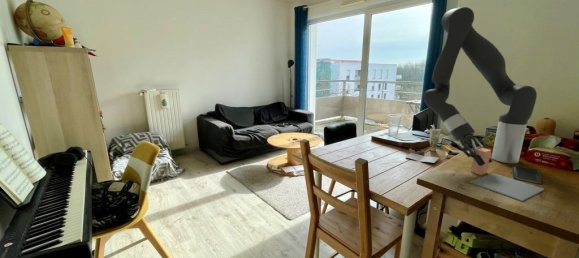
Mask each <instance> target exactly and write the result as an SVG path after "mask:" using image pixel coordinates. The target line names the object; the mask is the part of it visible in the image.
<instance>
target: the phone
mask: <svg viewBox="0 0 579 258" xmlns="http://www.w3.org/2000/svg"><path fill="white" fill-rule="evenodd" d="M511 168H512V179H514V180H517V181H520V182H525V183H526V182H527V183H529V184H530V183H531V184H536V185H542V183H543V180H542V176H541V174H540V170H538V169H536V168H530V167H524V166H519V165H512V167H511Z"/></svg>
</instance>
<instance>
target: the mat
mask: <svg viewBox="0 0 579 258" xmlns="http://www.w3.org/2000/svg"><path fill="white" fill-rule="evenodd" d="M469 183H470V184H472V185H476V186H479V187H480V188H484V189H487V190H489V191H492V192H495V193H498V194H501V195H503V196H505V197H508V198H510V199H514V200H517V201H519V202H524V201H526V200H528V199H530V198H533V197H534V196H536V195H538V194H540V193H541V192H543V191H545V190H546V189H545V188H543V187H539V186H536V185H533V184H530V183H528V182H527V183H526V182H525V181H521V180H516V179H514V178H510V177H507V176H504V175H500V174H497V173H495V172H492V173H490V174H487V175H484V176H482V177H479V178H477V179H473V180H470V181H469Z"/></svg>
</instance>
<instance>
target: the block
mask: <svg viewBox="0 0 579 258" xmlns="http://www.w3.org/2000/svg"><path fill="white" fill-rule="evenodd" d="M477 148H478V147H477ZM476 151H477V152H478V154H479V155H480V157H481V158H482V159H483V160H484V162H485V164H484V165H482V166H479V165H478V163H477V162H476V161H475V159H474V158H473V159H472V165H471V169H470V170H471V171H470V172H471V173H472V174H476V175H479V176H482V175H485V174H487V173H488V169H489V164H490V163H489V159H490V158H491V156H492V154H491V153H492V149H485V148H484V147H483V148H478V149H477V150H476Z"/></svg>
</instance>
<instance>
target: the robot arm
mask: <svg viewBox="0 0 579 258" xmlns="http://www.w3.org/2000/svg"><path fill="white" fill-rule="evenodd" d="M474 21H475V12H474V11H473V9H471V8H470V7H468V6H462V7H460V6H459V7H455V8H451V9H449V10H448V11H446V12H445V13H444V15H443V16H442V18H441V25H442V28H443V30H444V31H445V32H446V33H447V36H446V40H445V43H444V46H443V48H442V50H441V52H440V54H439V56H438V58H437V60H436V62H435V65H434V69H433V72H432V77H431V83H434V88H431V89H427V90H426V91H424V93H423V98H422V99H423V101H424V103H425V105H426V106H427V107H428V108H429V109H430V110H431V111H433V113H435V114H436V115H438V116H439V118H440V120H441V121H442V123H443V124H444V126H445V128H446V129H447V130H448V132H449V133H450V134H451V136H452V137H453V139H454V140H455V141H456V142H460V143H459V144H457V147H458V148H459V150H461V151H462V152H463V154H464V155H466V157H468V158H471V159H472V158H474V159H475V161H476V162H477V163H478V165H479V166H482V165H484V164H485V162H484V160H483V159H482V158H481V157H480V155H479V154H478V152H477V151H476V150H477V149H478V148H485V149H488V147H487V144H486V143H485V141H484V139H483V138H482V137H479V138H477V137H476V136H475V135H474V134H475V133H476V130H475V129H474V128H473V127H472V126H471V124H470V122H468V120H467V119H466V118H465V117H464V116H463V115H462V114H461V113H460V111H459V110H458V109H457V108H456V106H455V105H453V104H452V103H447V100H448V99H449V96H450V90H451V89H450V88H451V84H450V82H451V81H450V80H451V78H452V75H453V71H454V67H455V65H456V62H457V59H458V56H459V54H460V51H461V49H462V51H463V52H464V54H465V56H467V58H469V60H470V61H471V63H472V65H473V66H474V67H475V68H476V69H477V70H478V72H479V73H480V74H481V76H483V78H484V80H485V81H487V83H488V84H489V85H490V87H491V89H492V90H493V91H494V93H495V95H496V96H497V98H498V100H499V101H500V102H501V104H503V105H505V106H509V109H508V111H507V112H506V113H504V114H501V115H499V118H498V124H497V129H496V134H495V139H494V144H493V149H492V152H491V153H492V154H491V157H490V159H489V164H490V163H492V162H493V160H494V161H497V162H501V163H505V164H518V163H519V161H520V156H521V152H522V148H523V143H524V139H525V134H526V129H527V126H528V125H527V124H528V121H529V120H530V119H531V117H532V115H533V112H534V109H535V105H536V102H537V97H538V96H537V93H538V92H537V90H536V88H535V87H533V86H530V85H525V84H517V83H515V82H514V81H513V79H511V78H510V77H509V75H508V74H507V69H506V68H507V67H506V59H505V57H504V55H503V54H502V52H500V50H499V48H497V47H496V45H494V44H493V43H492V42H491V41H490V40H488V39H487V38H485V37H484V36H482V35H481V34H480V33H479V32H478V31H477V30H476V29H475V28H474V26H473V23H474Z"/></svg>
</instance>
